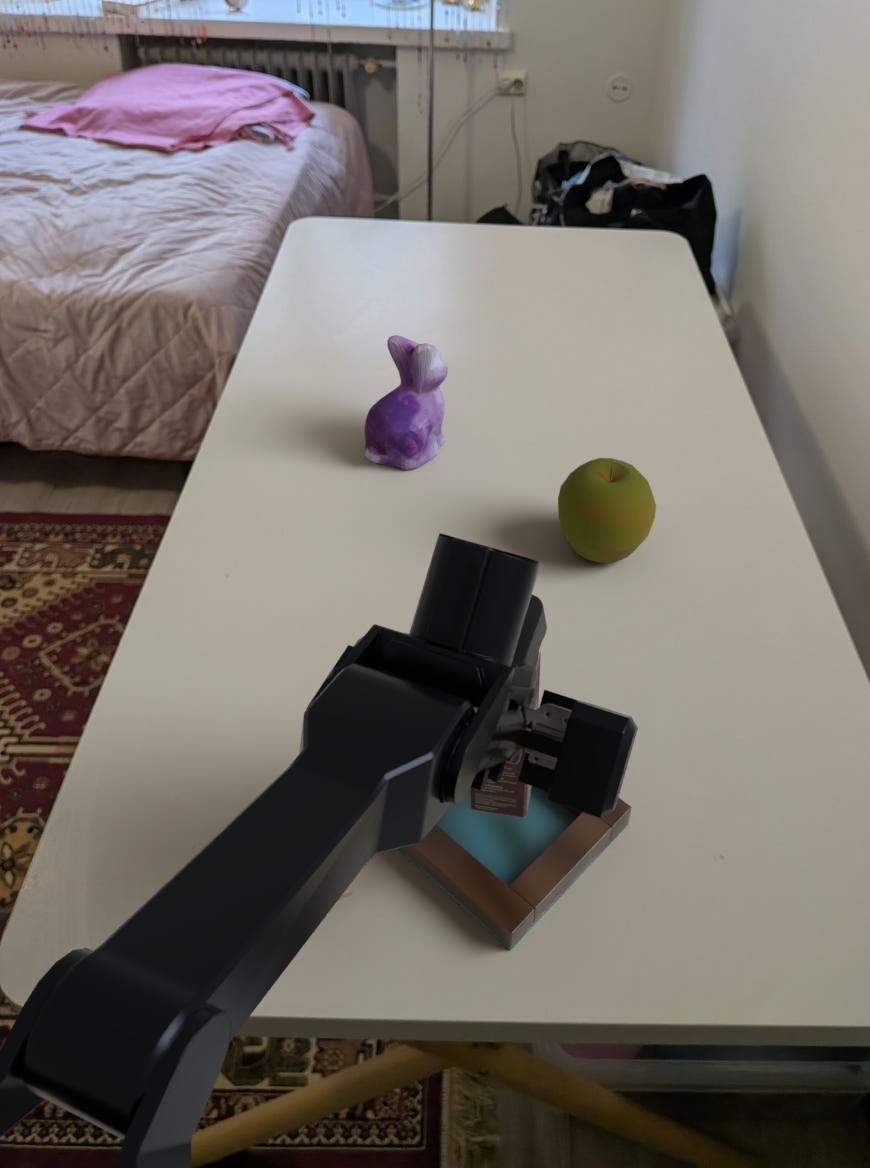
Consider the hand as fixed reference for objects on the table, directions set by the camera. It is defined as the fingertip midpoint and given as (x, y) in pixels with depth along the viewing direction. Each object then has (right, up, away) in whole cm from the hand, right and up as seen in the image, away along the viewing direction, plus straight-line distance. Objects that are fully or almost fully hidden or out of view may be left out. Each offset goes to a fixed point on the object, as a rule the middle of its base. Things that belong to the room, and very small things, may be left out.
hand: (509, 715), depth 68 cm
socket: (-1, -10, +7) cm, 12 cm away
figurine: (-11, +23, +46) cm, 52 cm away
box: (0, -6, +3) cm, 7 cm away
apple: (+11, +11, +32) cm, 36 cm away
